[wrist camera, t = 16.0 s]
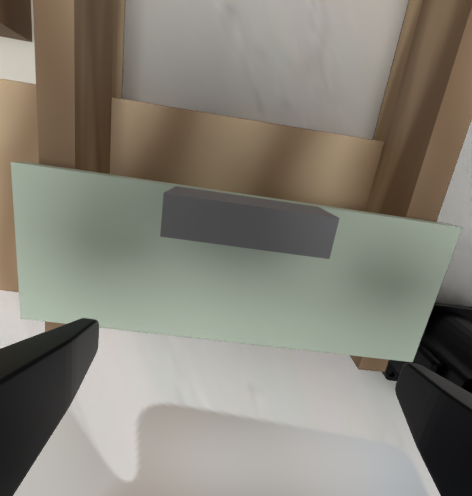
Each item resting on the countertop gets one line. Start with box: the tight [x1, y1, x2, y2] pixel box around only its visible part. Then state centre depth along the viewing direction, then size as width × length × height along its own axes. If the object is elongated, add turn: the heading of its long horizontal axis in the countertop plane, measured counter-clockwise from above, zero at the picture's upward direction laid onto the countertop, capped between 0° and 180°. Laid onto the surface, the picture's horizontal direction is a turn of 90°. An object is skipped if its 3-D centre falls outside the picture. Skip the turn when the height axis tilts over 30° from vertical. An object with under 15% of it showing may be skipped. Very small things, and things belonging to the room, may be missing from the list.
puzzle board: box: [0, 0, 472, 372], centre depth 15 cm, size 28×23×6 cm
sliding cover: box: [11, 162, 462, 362], centre depth 13 cm, size 19×7×3 cm, turn 82°
